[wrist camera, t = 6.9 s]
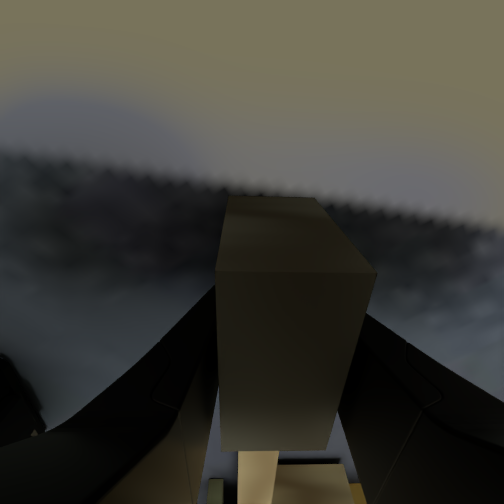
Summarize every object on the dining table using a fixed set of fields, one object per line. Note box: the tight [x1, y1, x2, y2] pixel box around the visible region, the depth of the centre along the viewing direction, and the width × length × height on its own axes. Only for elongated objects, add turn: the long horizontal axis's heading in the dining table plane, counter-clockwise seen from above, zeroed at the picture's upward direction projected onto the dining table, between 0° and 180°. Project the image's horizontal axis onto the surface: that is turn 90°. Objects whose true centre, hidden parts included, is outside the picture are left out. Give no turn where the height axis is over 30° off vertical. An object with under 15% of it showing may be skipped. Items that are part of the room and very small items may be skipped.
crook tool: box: [215, 196, 377, 504], centre depth 12 cm, size 8×20×5 cm, turn 178°
